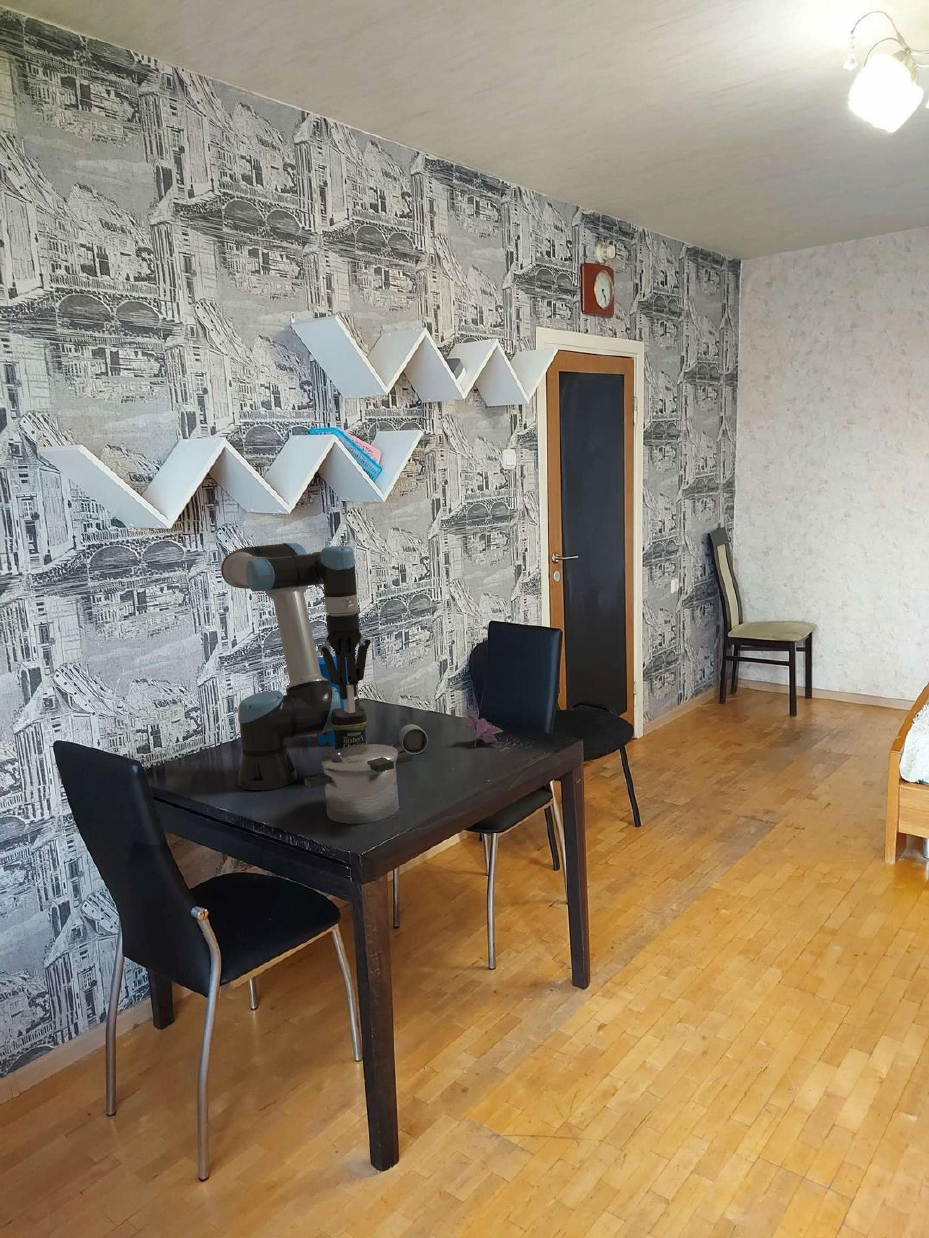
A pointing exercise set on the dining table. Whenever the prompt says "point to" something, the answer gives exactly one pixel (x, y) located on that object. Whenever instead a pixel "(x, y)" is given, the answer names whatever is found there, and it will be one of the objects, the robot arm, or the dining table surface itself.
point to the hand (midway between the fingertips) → (349, 711)
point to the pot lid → (360, 758)
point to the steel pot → (360, 793)
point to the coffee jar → (349, 727)
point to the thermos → (328, 736)
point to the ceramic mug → (411, 740)
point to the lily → (482, 728)
